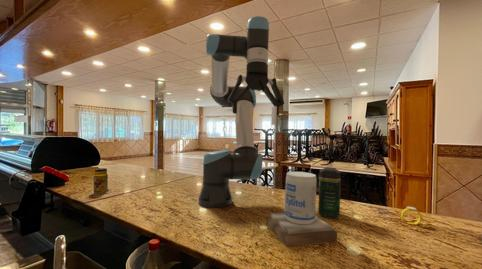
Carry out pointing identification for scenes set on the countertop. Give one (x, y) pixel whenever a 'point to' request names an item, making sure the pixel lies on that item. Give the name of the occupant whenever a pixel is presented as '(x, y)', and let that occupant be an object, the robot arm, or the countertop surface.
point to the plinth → (300, 231)
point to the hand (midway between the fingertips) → (255, 124)
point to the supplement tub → (300, 197)
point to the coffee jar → (329, 192)
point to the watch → (411, 210)
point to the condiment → (100, 181)
